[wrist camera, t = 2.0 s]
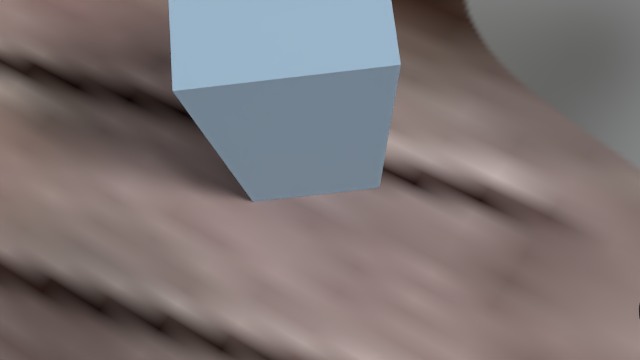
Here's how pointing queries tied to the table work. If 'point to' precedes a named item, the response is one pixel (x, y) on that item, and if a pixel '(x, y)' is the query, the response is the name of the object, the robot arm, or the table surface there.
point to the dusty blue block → (289, 89)
